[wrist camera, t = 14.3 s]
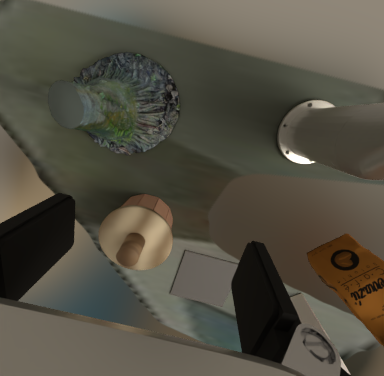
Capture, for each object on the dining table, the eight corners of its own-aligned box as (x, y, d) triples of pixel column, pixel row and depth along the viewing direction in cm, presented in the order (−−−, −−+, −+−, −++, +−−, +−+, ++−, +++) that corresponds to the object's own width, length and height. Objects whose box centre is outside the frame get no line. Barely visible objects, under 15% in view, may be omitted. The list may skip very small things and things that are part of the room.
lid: (181, 216, 38) (178, 234, 32) (163, 273, 43) (157, 297, 37) (106, 196, 37) (90, 210, 31) (97, 256, 42) (81, 278, 36)
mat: (242, 264, 52) (242, 265, 52) (221, 305, 57) (222, 306, 57) (185, 249, 51) (185, 250, 50) (170, 293, 56) (170, 294, 56)
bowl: (178, 203, 46) (174, 219, 39) (165, 246, 50) (159, 268, 43) (124, 188, 45) (110, 202, 38) (116, 233, 49) (101, 253, 42)
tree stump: (185, 150, 42) (147, 178, 26) (108, 149, 47) (37, 172, 32) (178, 51, 35) (121, 7, 19) (88, 63, 40) (-15, 36, 24)
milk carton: (277, 301, 56) (315, 386, 38) (301, 292, 55) (352, 376, 37) (286, 316, 58) (326, 403, 40) (309, 308, 57) (361, 394, 39)
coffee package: (299, 247, 50) (373, 340, 29) (348, 226, 47) (466, 310, 27) (312, 273, 53) (388, 374, 32) (359, 255, 50) (473, 350, 30)
